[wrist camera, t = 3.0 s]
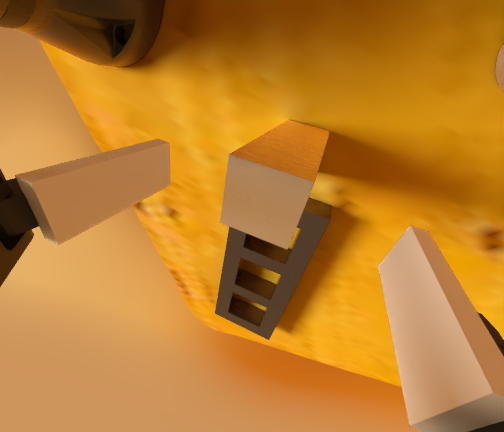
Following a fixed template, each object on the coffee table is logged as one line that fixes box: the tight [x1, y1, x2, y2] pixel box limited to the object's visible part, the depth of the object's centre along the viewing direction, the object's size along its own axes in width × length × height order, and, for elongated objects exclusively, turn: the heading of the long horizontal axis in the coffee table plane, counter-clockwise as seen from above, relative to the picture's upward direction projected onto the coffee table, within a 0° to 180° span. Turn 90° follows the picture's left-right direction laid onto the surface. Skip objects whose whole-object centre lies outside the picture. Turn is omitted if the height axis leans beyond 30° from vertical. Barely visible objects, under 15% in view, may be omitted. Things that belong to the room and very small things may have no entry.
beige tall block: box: [220, 120, 330, 249], centre depth 16 cm, size 4×4×13 cm
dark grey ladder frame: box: [215, 198, 332, 340], centre depth 30 cm, size 25×10×3 cm, turn 166°
